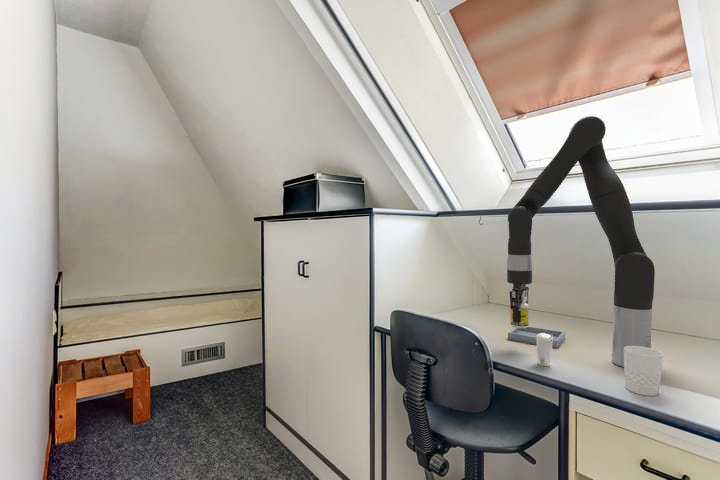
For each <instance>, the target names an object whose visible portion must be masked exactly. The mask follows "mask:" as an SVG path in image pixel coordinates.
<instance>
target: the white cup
mask: <svg viewBox="0 0 720 480" xmlns="http://www.w3.org/2000/svg"><path fill="white" fill-rule="evenodd" d="M663 358H664V353H663V352H662V351H660V350H658V349H655V348H652V347H651V348H647V347H641V346H625V347H624V367H623V371H624V373H623V374H624V386H625V388H626V390H628V391H629V392H632V393H634V394H638V395H641V396H647V397H649V396H650V397H654V396H658V395H659V393H660V384H661V378H662V369H663Z"/></svg>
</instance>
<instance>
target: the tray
mask: <svg viewBox="0 0 720 480" xmlns="http://www.w3.org/2000/svg"><path fill="white" fill-rule="evenodd" d="M539 333H546V334H549V335H551V334H553V335H552V337H553V343H552V349H559V348H560V346H561V344H562V343H564V341H565V340H566V331H561V330H555V329H548V328H543V327H542V328H541V327H535V326H529V325H528V327H527V328H515V327H513V328H512V329H511V330H510V331H508V333H507V340H508V341H513V342H517V343H518V342H519V343H523V344H530V345H535V346H537V344H536V335H537V334H539Z"/></svg>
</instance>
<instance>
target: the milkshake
mask: <svg viewBox="0 0 720 480" xmlns="http://www.w3.org/2000/svg"><path fill="white" fill-rule="evenodd" d="M552 335H553V334H551V335H549V334H546V333H539V334H537V335H536V344H537V345H536V353H537V357H536V358H537V365H539V366H541V367H542V366H543V367H550V366H551V357H552V349H553V348H552V343H553V337H552Z"/></svg>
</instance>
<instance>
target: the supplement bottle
mask: <svg viewBox="0 0 720 480" xmlns="http://www.w3.org/2000/svg"><path fill="white" fill-rule="evenodd" d="M519 301H520V300H519ZM525 302H526V297H525V296H524V302H523V304H522V305H521V322H520V323H517V322H513V310H512V309H511V308H510V327H513V328H527V327H528V326H529V309H530V308H529V307H530V306H529V303H528V304H527V303H525ZM515 306H517V304H515Z"/></svg>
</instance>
